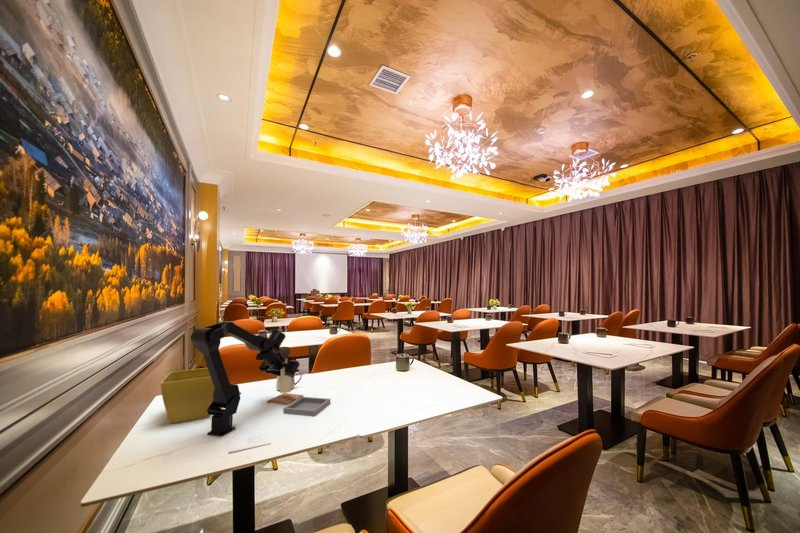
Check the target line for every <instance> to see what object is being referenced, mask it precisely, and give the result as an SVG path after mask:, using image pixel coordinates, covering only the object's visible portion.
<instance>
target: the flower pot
mask: <svg viewBox="0 0 800 533" xmlns="http://www.w3.org/2000/svg"><path fill="white" fill-rule="evenodd" d="M214 390H215V387H214V384H213V382H212V379H211V376H210V373H209V370H208V368H207V367H202V368H193V369H185V370H177V371H170V372H169V373H168V374H167V375H166V376H165V377H164V378H163V380H162V381H160V391H161V396H162V400H163V401H162V402H163V405H164V409H165V412H166V414H167V418H168V419H169V422H170V424H176V423H181V422H186V421H187V422H188V421H194V420H200V419H205V418H208V417H210V415H208V413H207V409H208V407H209V406H210V405H211V403H212V402H213V400H214V399H213V393H214Z"/></svg>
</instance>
